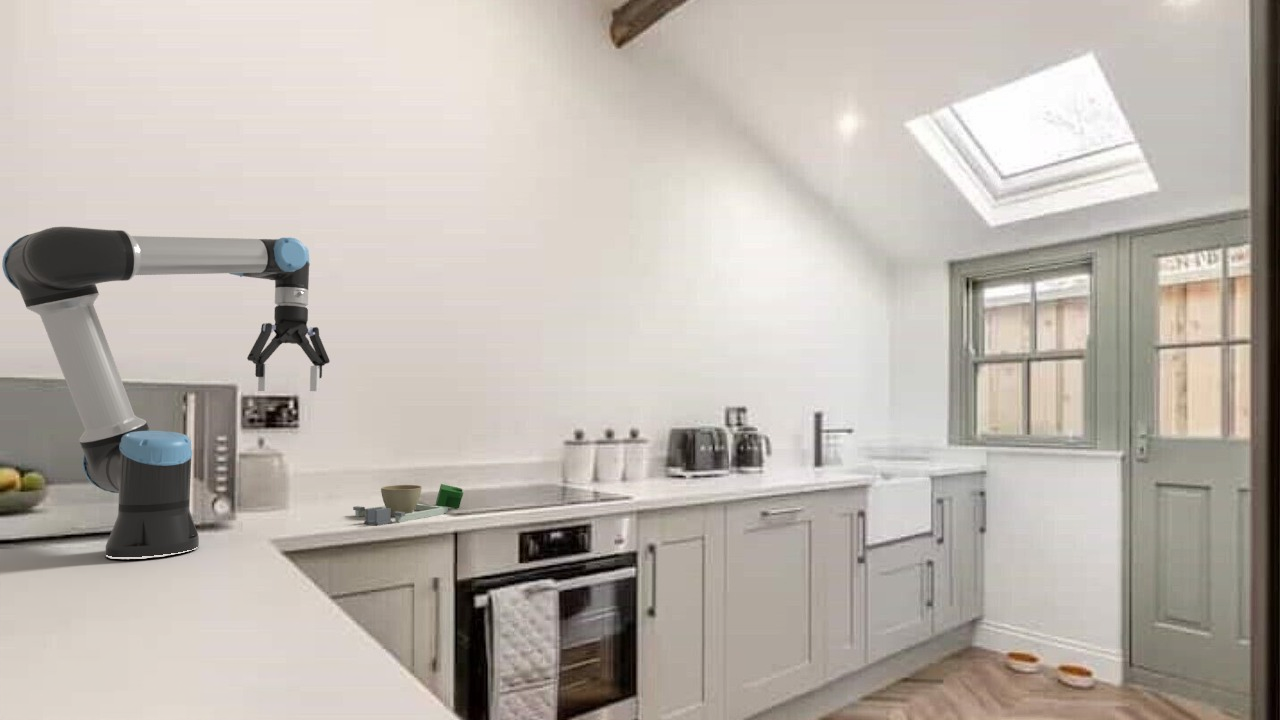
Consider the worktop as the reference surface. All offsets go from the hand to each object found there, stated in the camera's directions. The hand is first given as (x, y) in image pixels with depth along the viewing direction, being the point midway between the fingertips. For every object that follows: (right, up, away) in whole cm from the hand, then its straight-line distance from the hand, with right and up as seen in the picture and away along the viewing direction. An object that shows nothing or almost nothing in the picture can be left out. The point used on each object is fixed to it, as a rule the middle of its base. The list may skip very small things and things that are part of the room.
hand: (289, 391), depth 177 cm
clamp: (+35, -33, +18) cm, 51 cm away
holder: (+26, -32, +6) cm, 42 cm away
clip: (+24, -32, -6) cm, 40 cm away
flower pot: (+26, -32, +6) cm, 42 cm away
